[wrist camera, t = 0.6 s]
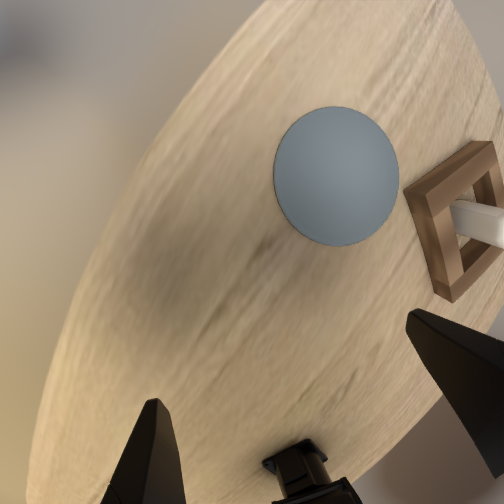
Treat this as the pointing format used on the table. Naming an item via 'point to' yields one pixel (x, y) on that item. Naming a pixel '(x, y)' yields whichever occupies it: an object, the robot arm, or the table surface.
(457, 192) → the walnut socket block
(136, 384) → the table surface
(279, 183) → the slate-blue rubber mat
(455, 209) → the eye dropper bottle
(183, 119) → the table surface
